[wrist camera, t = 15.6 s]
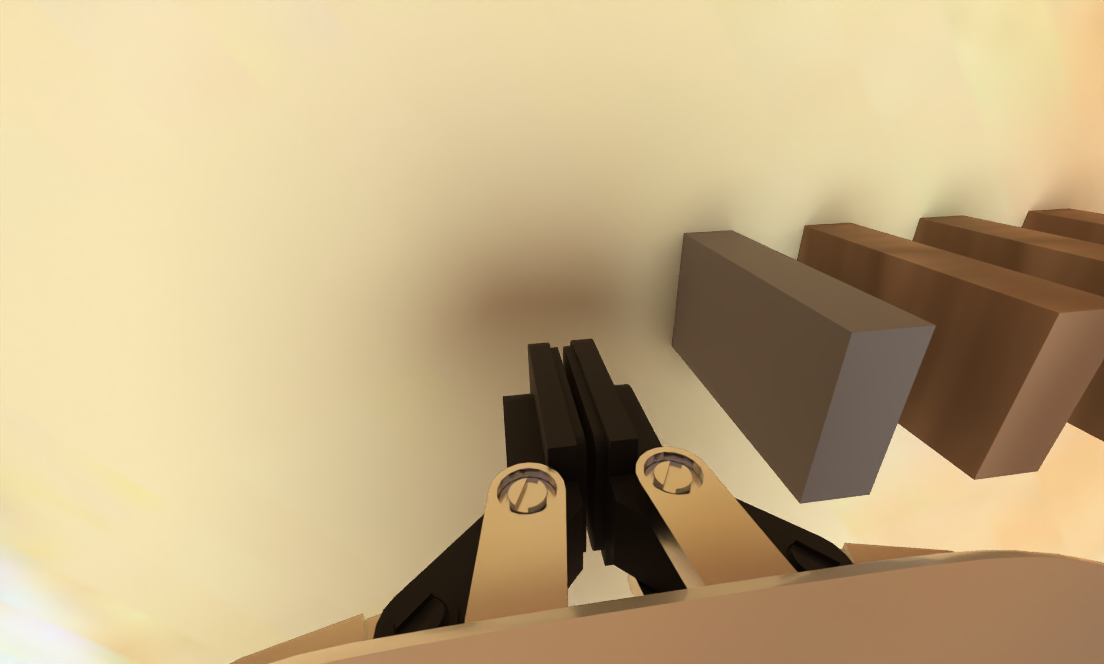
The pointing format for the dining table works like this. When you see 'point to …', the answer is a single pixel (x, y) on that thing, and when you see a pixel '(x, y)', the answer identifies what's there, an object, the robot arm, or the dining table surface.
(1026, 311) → the tile
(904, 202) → the dining table surface
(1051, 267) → the tile
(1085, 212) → the tile
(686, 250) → the dark gray tile
